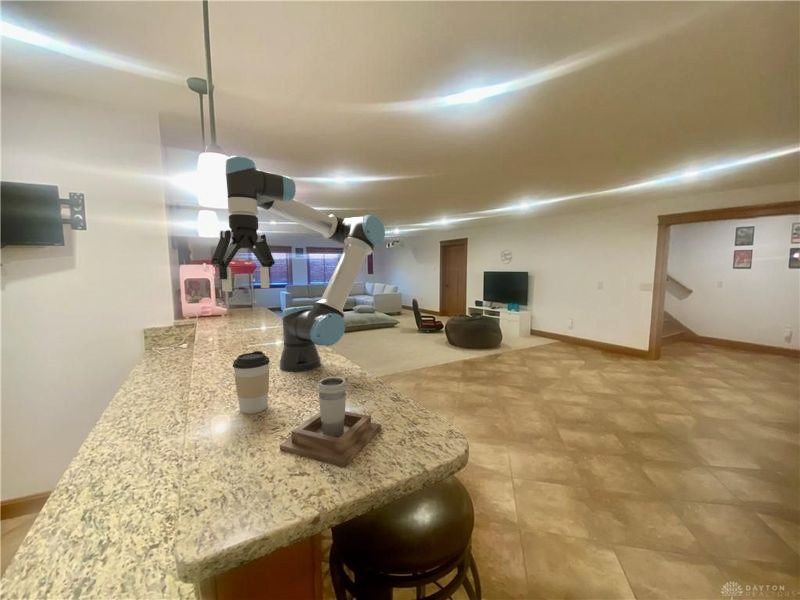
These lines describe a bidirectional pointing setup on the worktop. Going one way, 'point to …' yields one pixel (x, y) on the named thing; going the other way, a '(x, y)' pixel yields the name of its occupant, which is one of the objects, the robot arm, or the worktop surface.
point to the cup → (332, 405)
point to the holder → (331, 439)
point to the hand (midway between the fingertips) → (247, 289)
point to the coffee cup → (252, 381)
